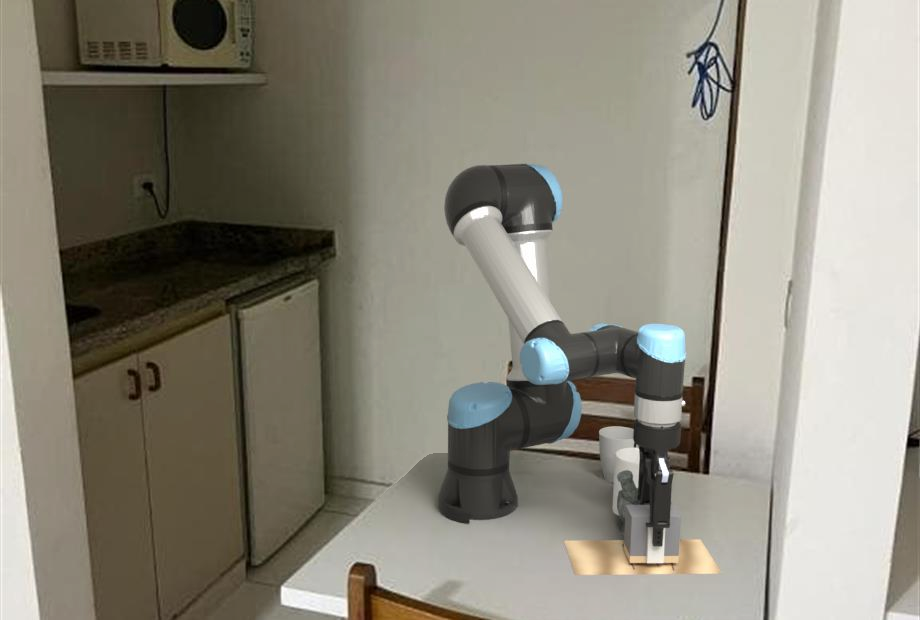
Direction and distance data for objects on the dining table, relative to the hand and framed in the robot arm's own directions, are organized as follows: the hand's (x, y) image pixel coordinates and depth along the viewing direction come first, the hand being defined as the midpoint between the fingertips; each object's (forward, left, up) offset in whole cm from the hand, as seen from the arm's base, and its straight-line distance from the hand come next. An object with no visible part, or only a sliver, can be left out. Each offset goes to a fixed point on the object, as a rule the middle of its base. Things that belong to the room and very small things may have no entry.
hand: (650, 554), depth 154 cm
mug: (+1, +21, -2) cm, 21 cm away
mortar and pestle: (0, +10, -2) cm, 10 cm away
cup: (+2, +37, -2) cm, 37 cm away
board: (-2, +1, -2) cm, 3 cm away
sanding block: (0, 0, 0) cm, 0 cm away
